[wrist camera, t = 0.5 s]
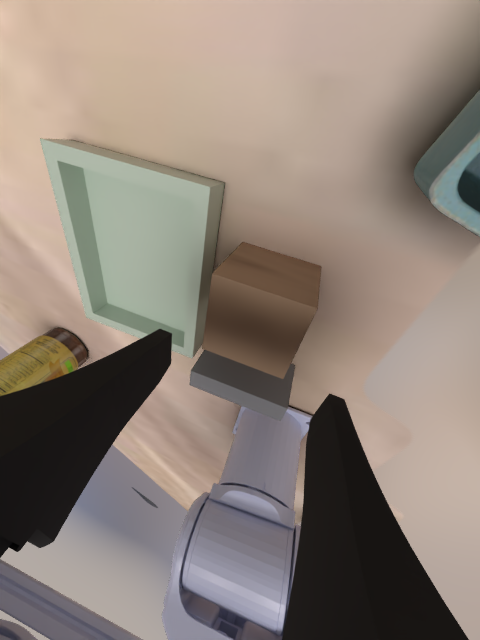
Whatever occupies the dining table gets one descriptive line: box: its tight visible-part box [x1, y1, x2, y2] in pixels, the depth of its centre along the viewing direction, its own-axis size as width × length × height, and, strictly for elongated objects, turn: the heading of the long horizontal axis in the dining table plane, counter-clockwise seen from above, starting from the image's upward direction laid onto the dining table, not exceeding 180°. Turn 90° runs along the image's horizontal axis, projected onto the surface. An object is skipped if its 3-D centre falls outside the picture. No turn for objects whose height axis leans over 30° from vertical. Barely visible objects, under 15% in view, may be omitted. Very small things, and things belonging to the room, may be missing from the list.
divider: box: [190, 350, 295, 421], centre depth 22 cm, size 2×8×5 cm, turn 78°
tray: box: [40, 138, 225, 358], centre depth 20 cm, size 15×12×2 cm
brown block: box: [202, 242, 321, 379], centre depth 17 cm, size 6×6×6 cm
